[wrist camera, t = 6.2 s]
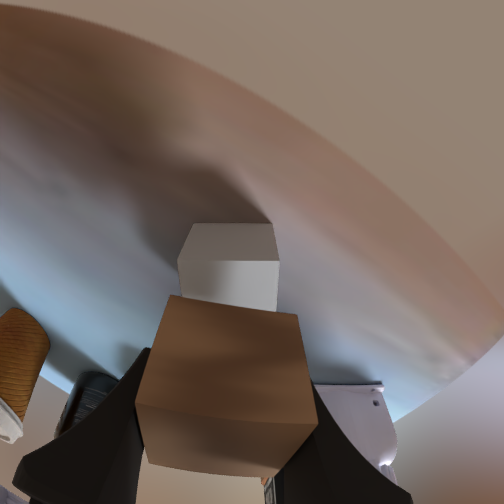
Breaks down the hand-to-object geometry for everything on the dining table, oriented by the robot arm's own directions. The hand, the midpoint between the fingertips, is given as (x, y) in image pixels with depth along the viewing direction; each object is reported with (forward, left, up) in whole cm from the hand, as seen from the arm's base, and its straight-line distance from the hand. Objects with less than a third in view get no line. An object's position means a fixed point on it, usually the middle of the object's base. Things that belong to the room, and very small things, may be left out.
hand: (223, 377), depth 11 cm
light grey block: (0, 0, -10) cm, 10 cm away
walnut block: (0, 0, -2) cm, 2 cm away
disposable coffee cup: (+21, +13, -10) cm, 26 cm away
